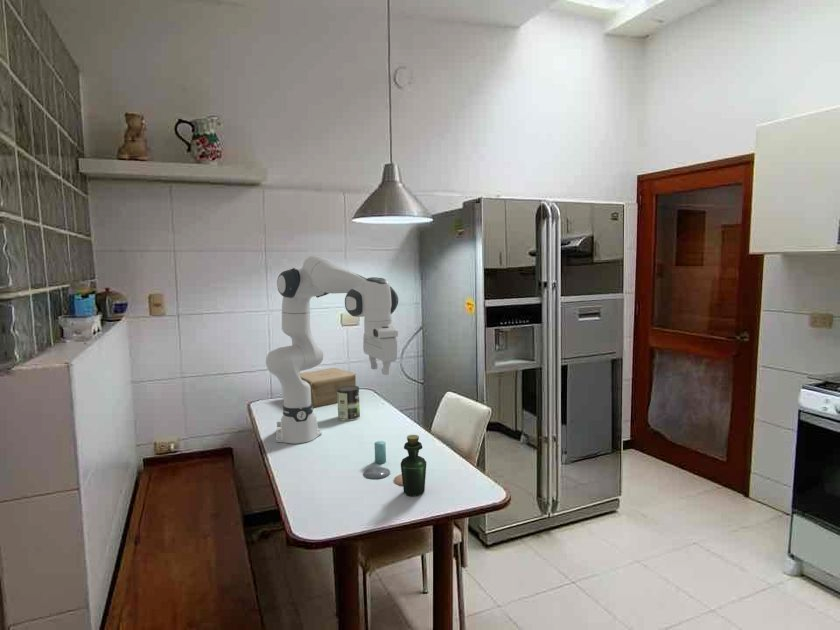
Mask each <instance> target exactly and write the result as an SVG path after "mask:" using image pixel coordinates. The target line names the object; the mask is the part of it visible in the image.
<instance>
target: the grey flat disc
mask: <svg viewBox="0 0 840 630" xmlns="http://www.w3.org/2000/svg"><path fill="white" fill-rule="evenodd" d="M390 475H391V470H390V469H389V468H387V467H383V466H382V467H381V466H375V467H370V468H368V469H366V470H364V472H363V476H364V478H367V479H371V480H378V479H379V480H381V479H385V478H387V477H388V476H390Z"/></svg>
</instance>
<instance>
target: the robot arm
mask: <svg viewBox="0 0 840 630" xmlns="http://www.w3.org/2000/svg"><path fill="white" fill-rule="evenodd" d="M276 286H277V291H278V293H279V294H280V296H281V297H282V302H281V330H282V332H283V333H284V334H285V335H286V336H287V337H290V339H291V345H287V346H286V345H285V346H280V347H277V348H276V349H272V350H271V351H269V352H268V353H267V355H266V359H265V366H266V368H267V370H268V372H269V373H271V374H272V375H273V376H275V377H276V378H277V379H278V382H279V383H280V385H281V389H282V395H283V405H282V416H281V418H280V421H277V422H276V427H277V428H276V429H275V442H276V443H285V444H303V443H308V442H311V441H314V440H315V439H317V437H319V436H321V435H322V434H323V433H322V430H320V429H319V425H318V419H317V415H316V414H314V413H313V412H314V407H313V405H312V403H311V387H310V385H309V383H307V382H306V381H304V380H302V379H301V377H300V373H301V372H302V371H305V370H310V369H313V368H315V367H317V366H319V365H320V364H322V362H323V359H324V351H323V348H322V347H321V346H320V345H319V344H318V343H317V342H316V341H315V339H314V338H313V335H312V331H311V302H310V301H311V299H312V298H314V297H316V298H317V299H318V298H321V297H324V296H327V295H329V294H346V295H345V298H344V307H345V309H346V312H347V313H348V314H349V315H350V316H352V317H355V318H360V317H362V318H363V317H364V319H363V323H364V324H363V326H364V327H363V328H364V333H363V338H362V339H363V340H362V341H363V344H362V350H363V353H364V354H366V355H368V360H369V363H370V369H371V370H377V369H378V367H379V366H378V363H377V360H379V361H381V362H382V368H381V374H382V375H384V376H388V375H389V373H390V371H389V369H390V367H391V363H393V362H396V361H397V358H398V340H397V337H398V336H399V330H398V329H397V328H396V327H395V325H394V324H393V318H392V314H393V313H394V312H395V311H396V309H397V307H398V305H399V295H398V293H397V292H396V291H395V289H394V288H393V287H392V286H391V285H390V283H389V281H388V280H387V279H385V278H382V277H378V276H377V277H376V276H375V277H374V276H373V277H372V276H371V277H365V276H362V275H360V274H357V273H356V272H353V271H350V270H349V269H346V268H344V267H342V266H341V265H339V264H337V263H335V262H333V261H332V260H331V259H329V258H326V257H325V256H322V255H321V256H320V255H315V254H314V255H313V254H312V255H309V256H307V258H305V259H304V260H303V263H302V267H301V268H295V267H293V268H289V269H286V270H284V271H282V272H280V274H279V275H278V276H277V280H276Z"/></svg>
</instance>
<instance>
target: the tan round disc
mask: <svg viewBox="0 0 840 630" xmlns="http://www.w3.org/2000/svg"><path fill="white" fill-rule="evenodd" d="M393 481H394V483H395V484H396V485H398V486H401V487H403V481H402V473H400V474H399V475H396V476H395V477H394V480H393Z"/></svg>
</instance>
